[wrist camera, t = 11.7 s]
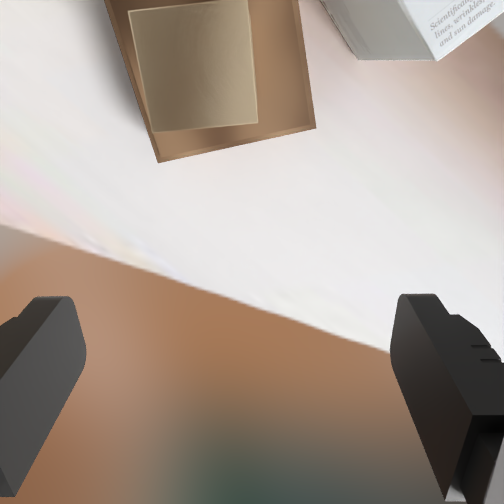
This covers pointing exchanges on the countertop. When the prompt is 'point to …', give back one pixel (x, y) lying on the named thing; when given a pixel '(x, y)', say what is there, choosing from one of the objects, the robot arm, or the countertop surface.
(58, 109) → the countertop surface
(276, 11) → the walnut box
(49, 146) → the countertop surface
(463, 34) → the skincare box
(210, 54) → the oak block
